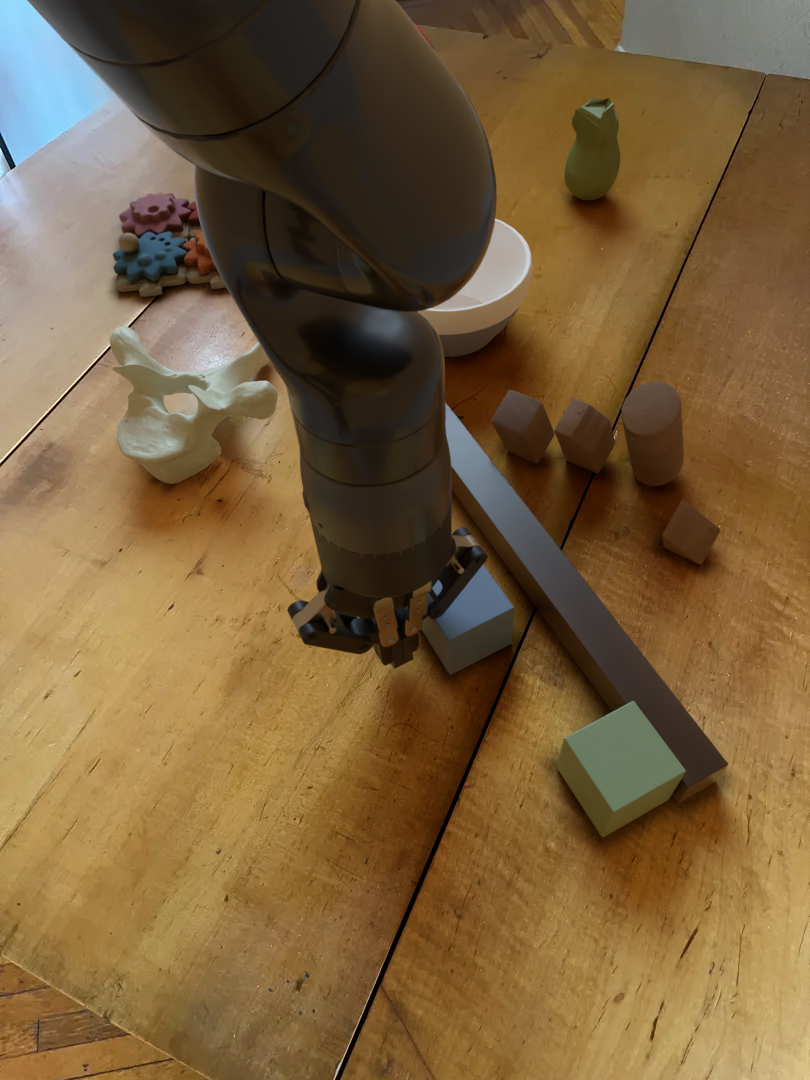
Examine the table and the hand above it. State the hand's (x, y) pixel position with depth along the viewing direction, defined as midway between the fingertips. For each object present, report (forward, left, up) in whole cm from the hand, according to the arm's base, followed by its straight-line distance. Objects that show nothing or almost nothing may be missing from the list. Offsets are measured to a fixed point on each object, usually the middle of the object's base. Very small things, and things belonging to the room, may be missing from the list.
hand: (397, 653), depth 56 cm
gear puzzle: (+10, +52, -2) cm, 53 cm away
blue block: (+5, 0, -1) cm, 5 cm away
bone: (-4, +29, -2) cm, 29 cm away
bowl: (+20, +29, -2) cm, 35 cm away
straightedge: (+12, +2, -1) cm, 12 cm away
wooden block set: (+22, +6, -2) cm, 23 cm away
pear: (+43, +40, -2) cm, 59 cm away
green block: (+8, -14, -1) cm, 16 cm away
